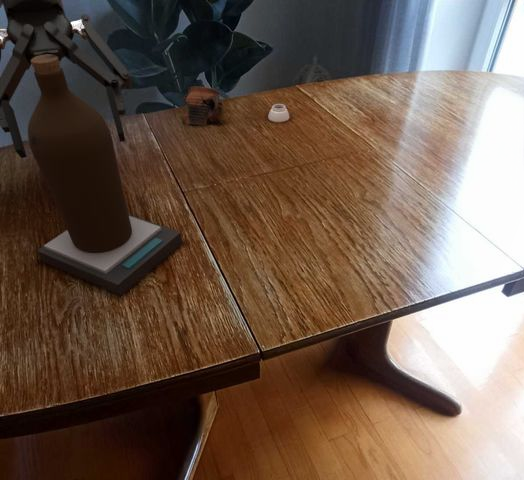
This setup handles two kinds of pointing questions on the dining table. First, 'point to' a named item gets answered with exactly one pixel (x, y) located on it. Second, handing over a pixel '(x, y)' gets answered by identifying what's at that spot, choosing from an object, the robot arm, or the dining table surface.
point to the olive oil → (77, 162)
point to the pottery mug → (202, 105)
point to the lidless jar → (278, 113)
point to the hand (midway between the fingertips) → (72, 145)
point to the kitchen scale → (114, 256)
